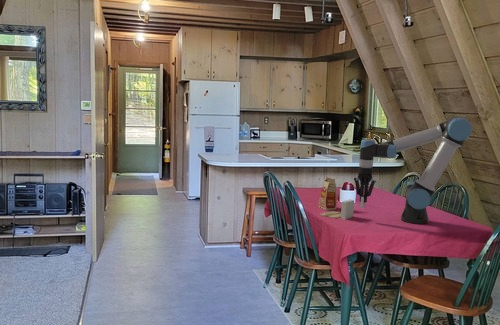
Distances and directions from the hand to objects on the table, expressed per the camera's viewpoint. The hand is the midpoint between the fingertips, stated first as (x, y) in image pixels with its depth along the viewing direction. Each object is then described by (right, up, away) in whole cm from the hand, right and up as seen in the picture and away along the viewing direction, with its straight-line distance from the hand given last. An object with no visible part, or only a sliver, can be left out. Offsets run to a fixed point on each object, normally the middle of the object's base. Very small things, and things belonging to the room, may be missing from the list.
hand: (362, 207), depth 274 cm
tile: (-8, -6, +7) cm, 12 cm away
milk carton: (-15, -3, +31) cm, 34 cm away
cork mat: (-14, -5, +13) cm, 20 cm away
